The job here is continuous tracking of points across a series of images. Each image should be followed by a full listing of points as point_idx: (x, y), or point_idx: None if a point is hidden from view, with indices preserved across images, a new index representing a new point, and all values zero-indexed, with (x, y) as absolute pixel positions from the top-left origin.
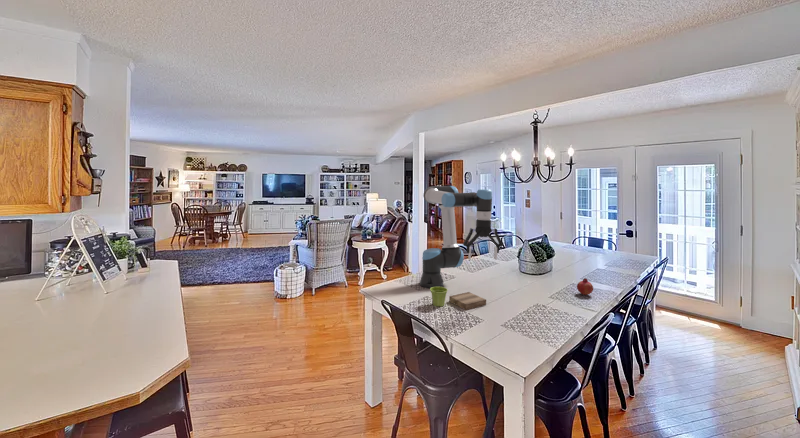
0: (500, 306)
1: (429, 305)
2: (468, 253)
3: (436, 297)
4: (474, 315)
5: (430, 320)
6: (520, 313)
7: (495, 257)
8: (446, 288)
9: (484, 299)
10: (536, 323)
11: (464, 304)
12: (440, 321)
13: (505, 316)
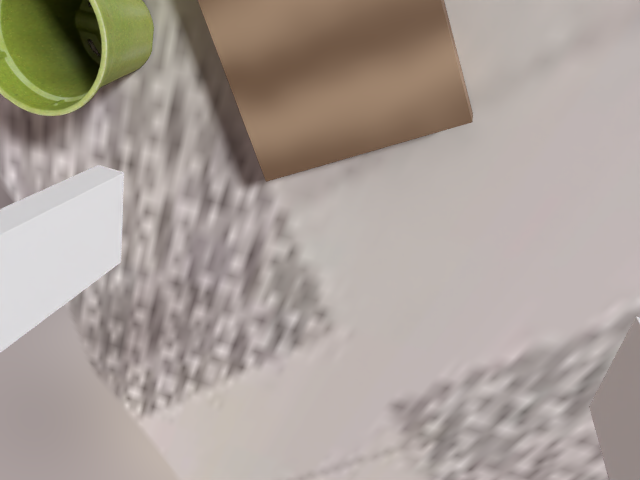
0: (573, 168)
1: None
2: (25, 202)
3: (48, 81)
4: (302, 258)
5: None
6: None
7: (598, 440)
8: (100, 18)
9: (457, 116)
10: None
11: (261, 161)
12: None
13: (492, 326)
